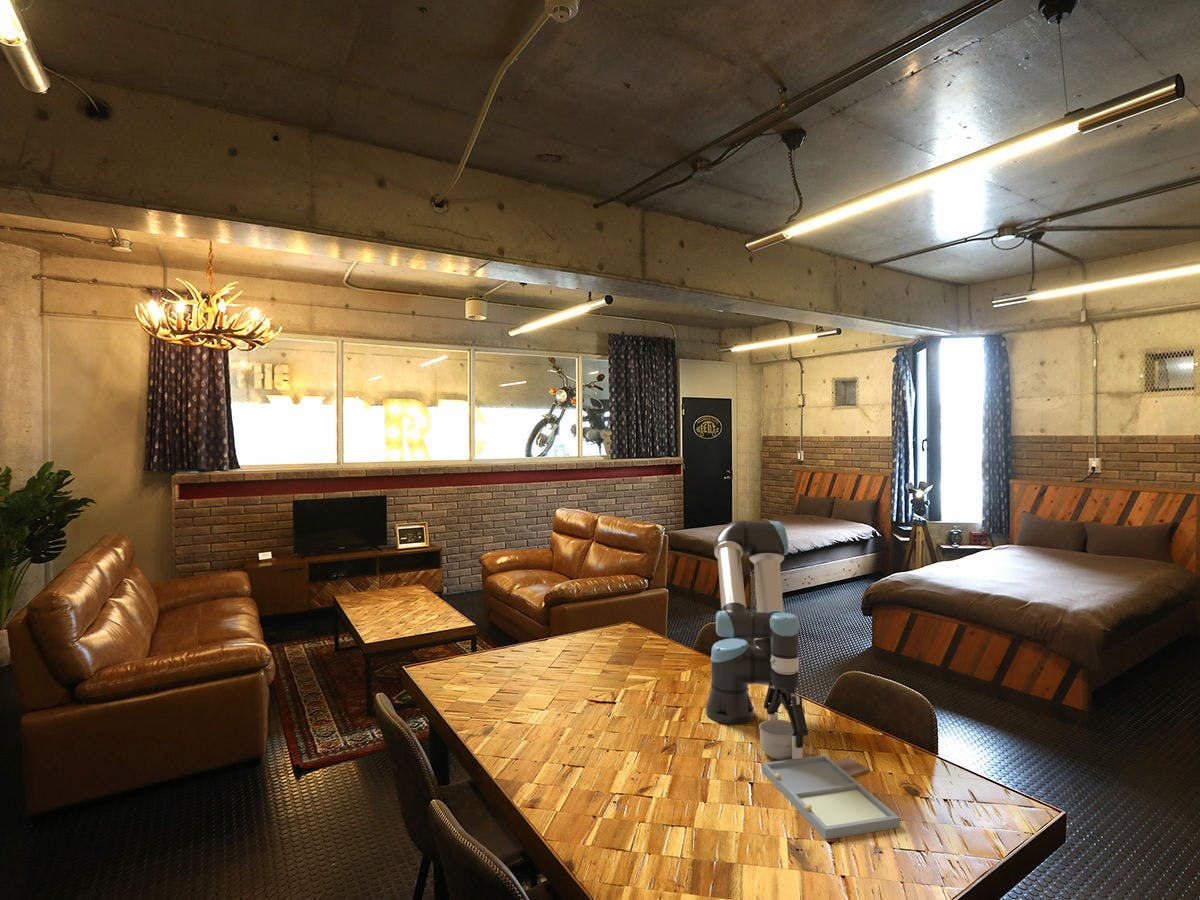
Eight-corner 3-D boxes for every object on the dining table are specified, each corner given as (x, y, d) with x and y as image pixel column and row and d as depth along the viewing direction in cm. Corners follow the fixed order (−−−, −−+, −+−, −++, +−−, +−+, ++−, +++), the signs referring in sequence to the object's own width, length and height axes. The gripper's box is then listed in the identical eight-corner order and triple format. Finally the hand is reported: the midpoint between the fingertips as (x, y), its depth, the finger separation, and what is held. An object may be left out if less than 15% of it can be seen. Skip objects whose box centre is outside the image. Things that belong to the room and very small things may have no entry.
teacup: (772, 767, 165) (772, 737, 165) (752, 748, 176) (752, 720, 176) (817, 760, 169) (817, 731, 169) (794, 741, 180) (794, 714, 180)
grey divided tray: (761, 771, 163) (761, 760, 163) (825, 762, 168) (825, 751, 168) (824, 839, 135) (824, 826, 135) (899, 827, 139) (899, 814, 139)
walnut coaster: (829, 767, 166) (829, 763, 166) (848, 761, 169) (848, 757, 169) (850, 780, 160) (850, 775, 160) (869, 773, 163) (869, 769, 163)
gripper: (751, 657, 183) (752, 729, 183) (796, 686, 159) (796, 770, 159) (774, 655, 185) (774, 727, 185) (821, 684, 161) (822, 767, 161)
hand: (784, 747), depth 172 cm, fingers open, 12 cm apart
